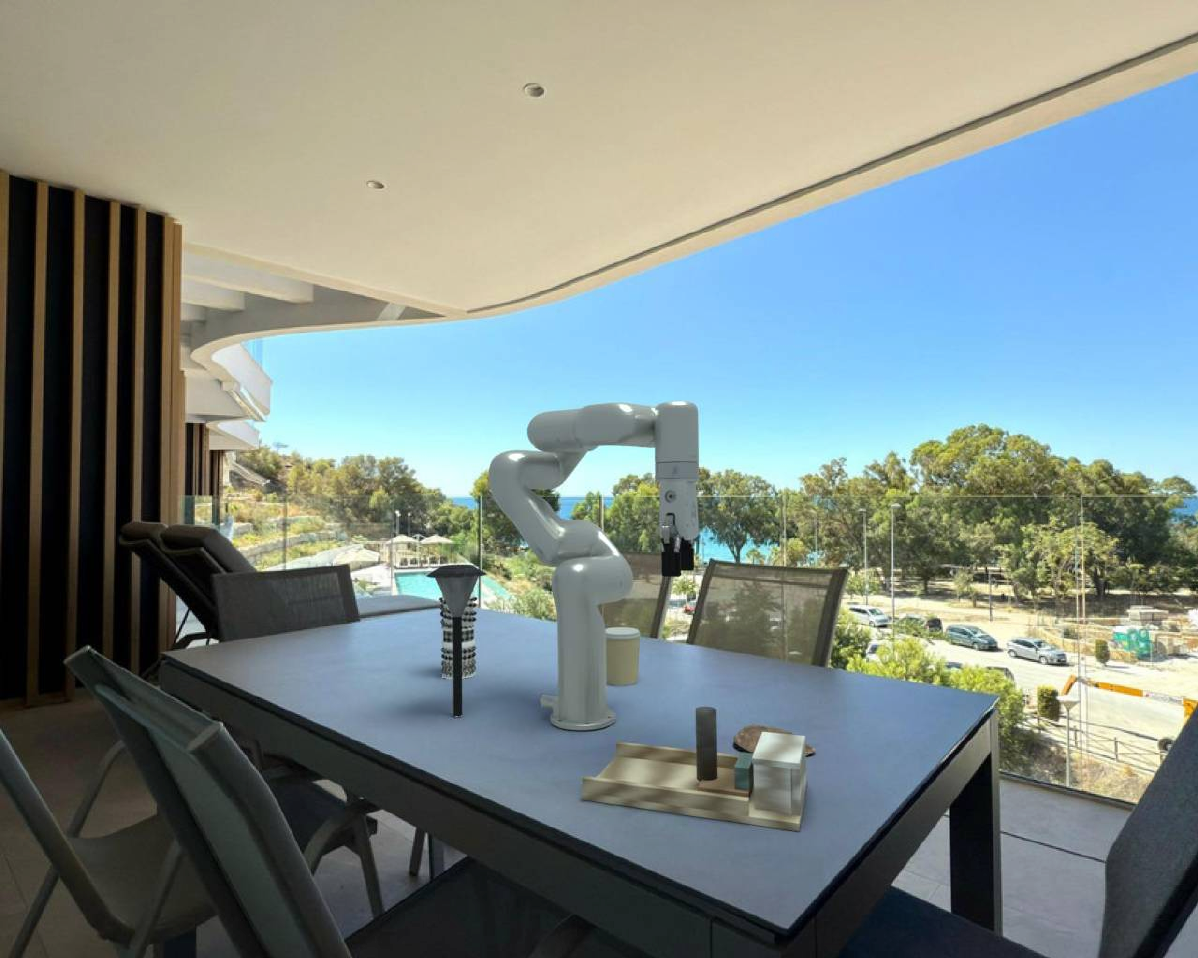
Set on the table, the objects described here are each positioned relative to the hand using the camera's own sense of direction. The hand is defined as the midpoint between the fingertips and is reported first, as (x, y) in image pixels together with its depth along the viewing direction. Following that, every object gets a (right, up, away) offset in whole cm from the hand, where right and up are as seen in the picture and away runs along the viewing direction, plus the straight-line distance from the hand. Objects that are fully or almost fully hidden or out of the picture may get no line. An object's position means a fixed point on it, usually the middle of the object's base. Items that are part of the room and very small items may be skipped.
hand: (678, 573), depth 119 cm
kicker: (+5, -28, -18) cm, 34 cm away
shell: (+16, -31, +1) cm, 35 cm away
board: (+1, -30, -17) cm, 34 cm away
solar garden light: (-42, -32, +20) cm, 56 cm away
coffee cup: (-8, -32, +45) cm, 56 cm away
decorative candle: (-48, -33, +52) cm, 78 cm away
